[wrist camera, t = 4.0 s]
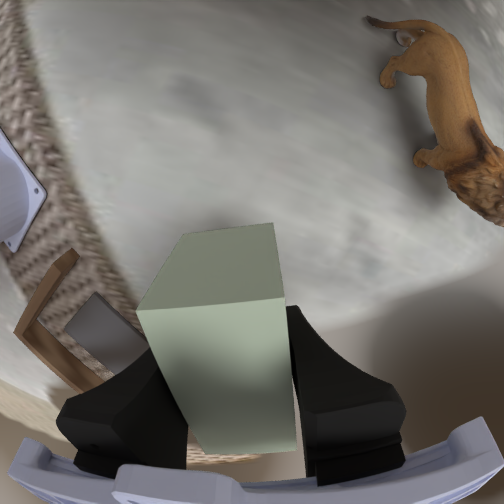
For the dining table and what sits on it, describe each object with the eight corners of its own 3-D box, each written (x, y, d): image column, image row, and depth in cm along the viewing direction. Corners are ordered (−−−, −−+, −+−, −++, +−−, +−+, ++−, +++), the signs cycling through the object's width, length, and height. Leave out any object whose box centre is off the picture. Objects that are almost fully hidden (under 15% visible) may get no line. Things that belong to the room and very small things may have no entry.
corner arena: (27, 316, 24) (13, 332, 22) (72, 247, 21) (52, 263, 18) (133, 408, 29) (126, 427, 26) (204, 370, 26) (199, 393, 23)
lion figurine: (474, 178, 18) (553, 212, 10) (430, 210, 19) (505, 260, 11) (388, 9, 13) (454, -38, 5) (331, 32, 15) (381, -24, 7)
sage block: (217, 365, 16) (205, 454, 11) (183, 234, 13) (135, 310, 8) (287, 359, 16) (297, 450, 10) (272, 222, 13) (284, 297, 7)
